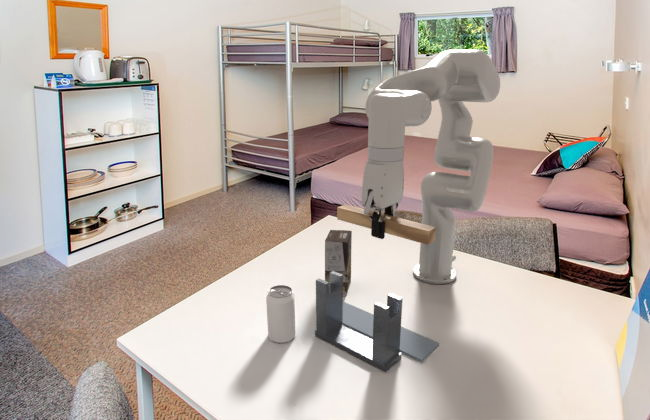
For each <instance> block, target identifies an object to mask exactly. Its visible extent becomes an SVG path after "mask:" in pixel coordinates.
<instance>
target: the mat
mask: <svg viewBox="0 0 650 420" xmlns="http://www.w3.org/2000/svg"><path fill="white" fill-rule="evenodd" d="M373 319H374V313H372V312H368V311H366V310H364V309H361V308H359V307H357V306H355V305H352V304H351V303H348V302H345V301H343V323H342V325H343V326H345V327H347V328H349V329H351V330H353V331H355V332H357V333H360V334H362V335H364V336H366V337H368V338H370V339H372V340H373ZM440 344H441V343H440V342H439V341H436V340H434V339H431V338H430V337H429V338H428V337H427V336H425V335H422V334H420V333H417V332H415V331H413V330H410V329H408V328H405V327H403V326H401V334H400V353H401V354H404V355H405V356H407V357H410V358H412V359H414V360H416V361H418V362H420V363H423V362H424V361H425V360H426V359H427V358H428V357H429V356H431V354H432V353H433V352H435V351H436V349H438V348H439V346H441V345H440Z"/></svg>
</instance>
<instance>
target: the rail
mask: <svg viewBox="0 0 650 420" xmlns="http://www.w3.org/2000/svg"><path fill="white" fill-rule="evenodd" d="M364 209H365V208H361V207H358V206H353V205H349V204H342V205H340V206H337V208H336V213H337V214H336V219H337V220H339V221H341V222H345V223H349V224H352V225H356V226H359V227H362V228H367V229H371V226H372V220H370V217H369V215H366V214H364ZM376 212H377V211H376ZM377 213H378V214H379V211H378V212H377ZM383 221H384V222H385V234H388V235H390V236H391V235H392V236H395V237H398V238H403V239H405V240H408V241H413V242H416V243H419V244H421V243H423V244H426V245H428V244H430V243H432V242H433V241H435V232H436V227H433V226H429V225H425V224H422V222H417V221H412V220H408V219H405V218H401V217H398V216H395V217H394V216H390V215H386V214H384V219H383Z"/></svg>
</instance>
